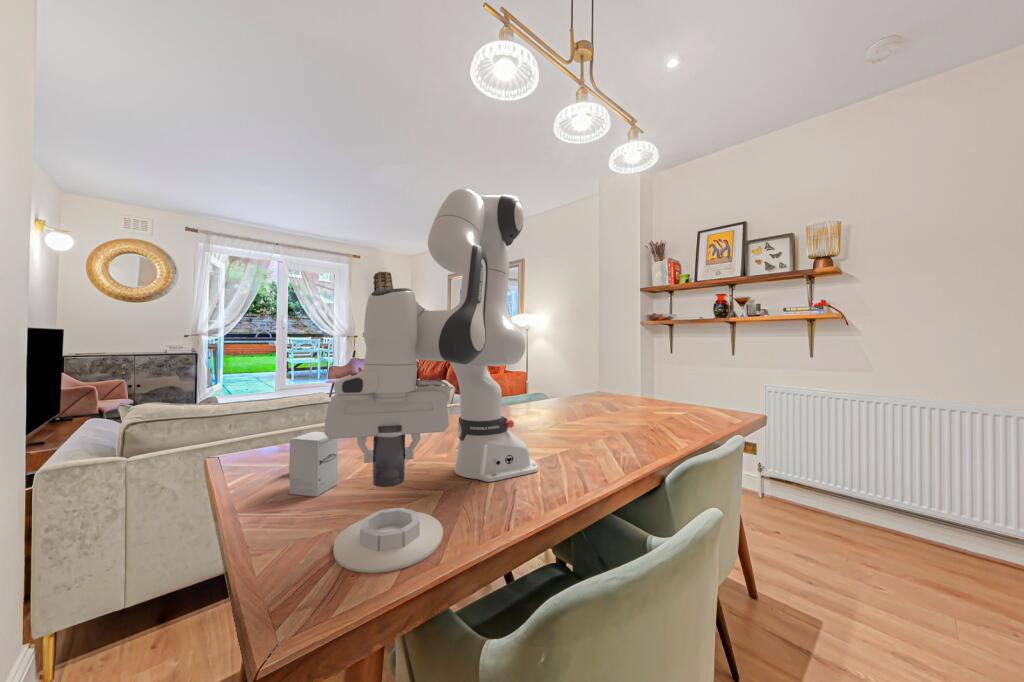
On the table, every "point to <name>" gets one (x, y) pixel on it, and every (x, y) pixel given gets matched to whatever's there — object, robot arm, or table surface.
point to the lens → (388, 456)
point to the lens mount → (388, 541)
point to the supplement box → (313, 464)
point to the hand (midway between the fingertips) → (389, 460)
